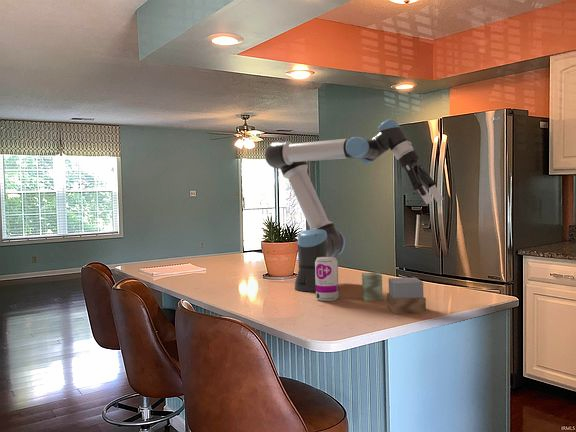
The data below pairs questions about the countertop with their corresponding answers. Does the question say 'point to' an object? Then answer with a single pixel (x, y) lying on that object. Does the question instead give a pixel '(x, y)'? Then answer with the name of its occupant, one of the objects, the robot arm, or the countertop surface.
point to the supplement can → (326, 278)
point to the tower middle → (405, 288)
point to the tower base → (406, 305)
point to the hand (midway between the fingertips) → (435, 201)
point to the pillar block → (372, 286)
